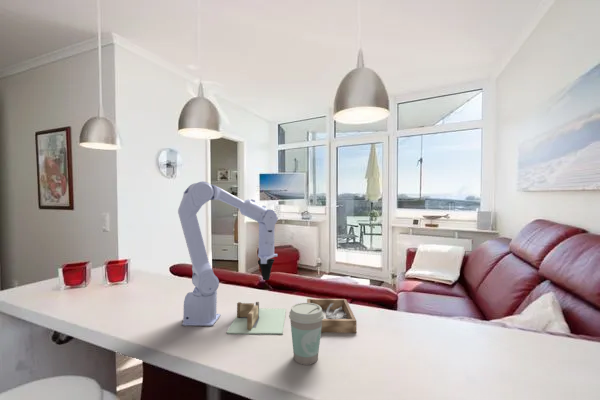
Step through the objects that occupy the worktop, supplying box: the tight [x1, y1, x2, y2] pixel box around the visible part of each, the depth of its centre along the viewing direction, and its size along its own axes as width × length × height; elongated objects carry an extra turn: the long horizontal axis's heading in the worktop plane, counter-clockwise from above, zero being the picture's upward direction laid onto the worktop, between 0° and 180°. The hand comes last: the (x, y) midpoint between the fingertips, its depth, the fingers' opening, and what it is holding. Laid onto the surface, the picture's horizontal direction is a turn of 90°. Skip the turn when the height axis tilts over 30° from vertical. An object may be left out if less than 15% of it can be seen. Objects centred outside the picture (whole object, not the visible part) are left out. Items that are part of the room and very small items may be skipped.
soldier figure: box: [325, 303, 347, 319], centre depth 84 cm, size 8×5×12 cm
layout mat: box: [226, 307, 287, 335], centre depth 86 cm, size 16×18×1 cm
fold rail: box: [247, 304, 258, 330], centre depth 82 cm, size 8×1×4 cm, turn 174°
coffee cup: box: [288, 302, 325, 366], centre depth 65 cm, size 8×8×12 cm
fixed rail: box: [236, 301, 260, 318], centre depth 87 cm, size 7×1×5 cm, turn 90°
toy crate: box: [306, 298, 357, 334], centre depth 87 cm, size 14×18×4 cm
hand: (266, 279), depth 97 cm, fingers closed
